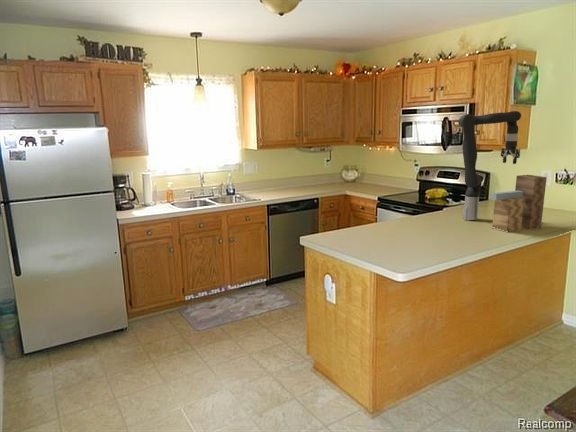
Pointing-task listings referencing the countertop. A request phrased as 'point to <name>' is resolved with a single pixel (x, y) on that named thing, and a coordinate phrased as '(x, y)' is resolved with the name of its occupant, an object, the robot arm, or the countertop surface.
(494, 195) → the bar
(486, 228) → the countertop surface
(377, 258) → the countertop surface
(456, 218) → the countertop surface
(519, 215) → the block
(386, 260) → the countertop surface
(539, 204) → the post
